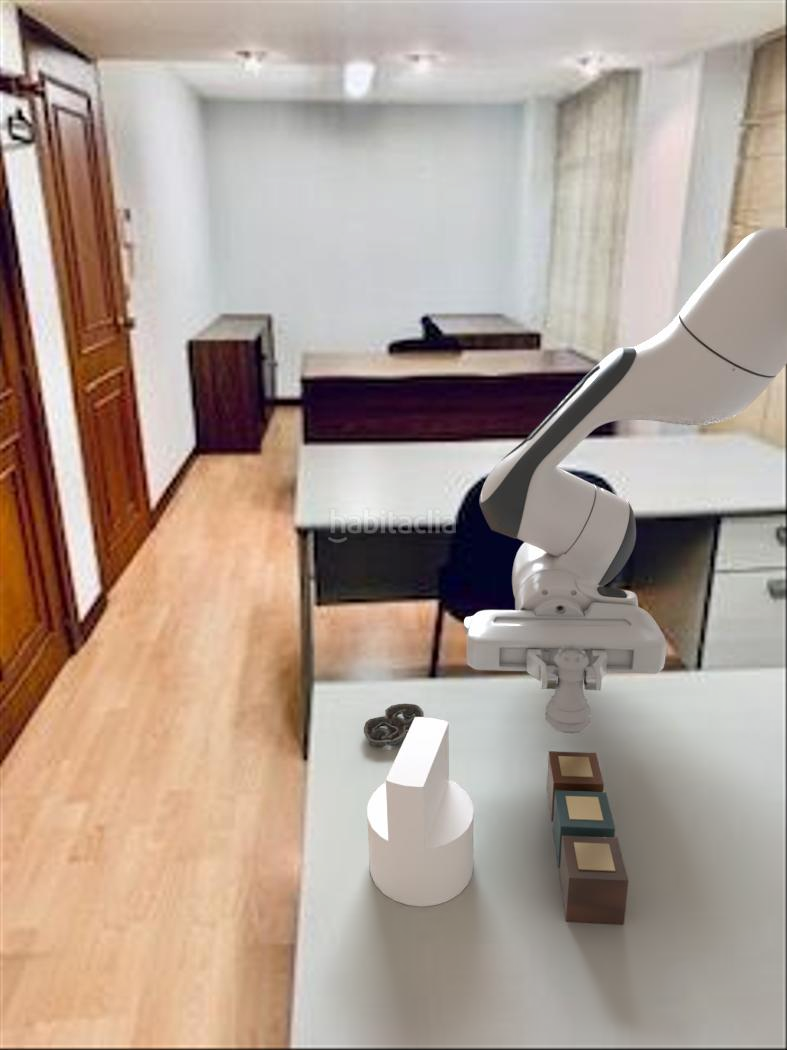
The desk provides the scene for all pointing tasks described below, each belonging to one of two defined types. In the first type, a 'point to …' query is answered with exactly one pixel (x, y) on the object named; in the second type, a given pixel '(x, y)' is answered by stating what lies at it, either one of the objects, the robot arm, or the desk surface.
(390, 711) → the corroded twin loop
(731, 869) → the desk surface
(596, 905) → the block
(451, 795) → the cylinder with rectangular tab
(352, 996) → the desk surface
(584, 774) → the block
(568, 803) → the block middle
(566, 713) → the rook chess piece
